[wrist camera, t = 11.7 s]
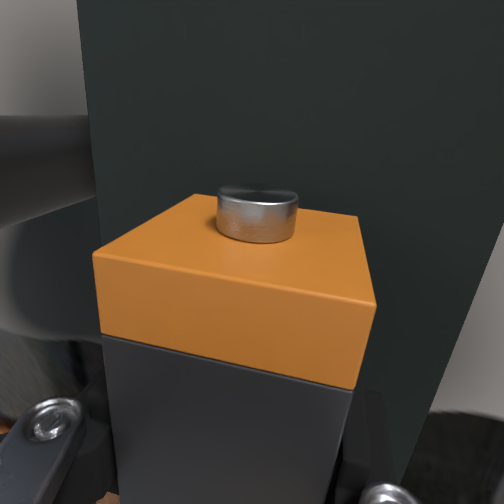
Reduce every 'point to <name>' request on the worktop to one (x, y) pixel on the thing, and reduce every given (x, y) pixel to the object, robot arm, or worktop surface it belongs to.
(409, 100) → the mat
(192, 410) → the battery
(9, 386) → the worktop surface
